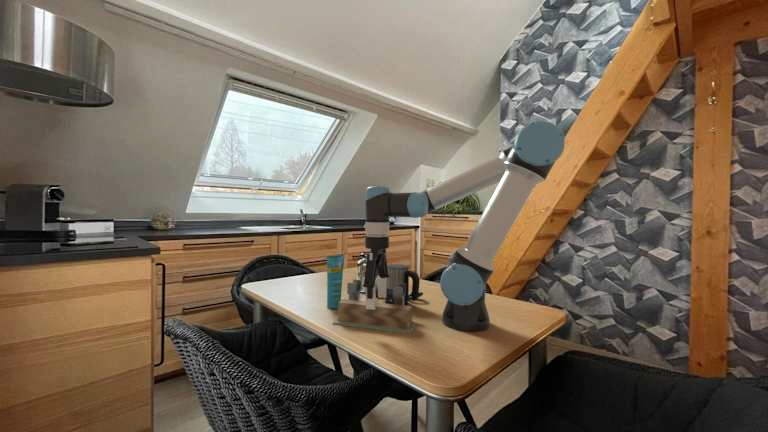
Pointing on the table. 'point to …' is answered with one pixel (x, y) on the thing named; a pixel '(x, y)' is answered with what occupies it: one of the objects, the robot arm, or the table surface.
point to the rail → (375, 314)
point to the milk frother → (401, 275)
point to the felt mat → (375, 326)
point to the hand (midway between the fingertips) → (376, 303)
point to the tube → (334, 279)
